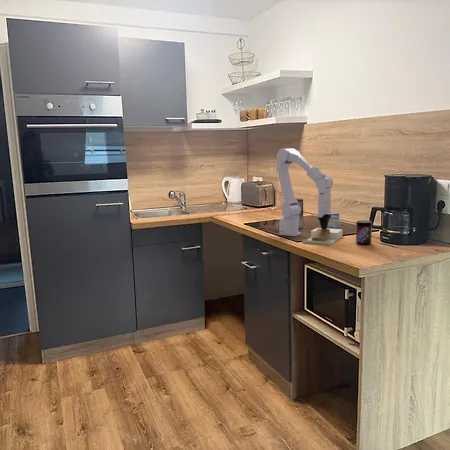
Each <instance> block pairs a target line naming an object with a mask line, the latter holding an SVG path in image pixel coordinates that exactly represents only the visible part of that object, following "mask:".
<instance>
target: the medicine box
mask: <svg viewBox="0 0 450 450" xmlns="http://www.w3.org/2000/svg"><path fill="white" fill-rule="evenodd" d="M328 215H331V217H330V219H329V222H328V226H327V228H328V229H340V213H339V212H333V213H329V214H328Z"/></svg>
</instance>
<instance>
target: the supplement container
mask: <svg viewBox="0 0 450 450" xmlns="http://www.w3.org/2000/svg"><path fill="white" fill-rule="evenodd" d="M355 223H356V224H355V225H356V226H355V228H356V229H355V243H356V245H359V246H370V245H371V244H372V235H373V234H372V230H373V228H372V226H373V222H372V221H371V220H368V219H367V220H366V219H365V220H364V219H362V220H356V222H355Z"/></svg>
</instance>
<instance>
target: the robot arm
mask: <svg viewBox="0 0 450 450" xmlns="http://www.w3.org/2000/svg"><path fill="white" fill-rule="evenodd" d="M293 163H296V164H297V165H299V166H300V167H301V168H302V169H303V170H304V171H306V175H307V176H308V177H309V179H311V180H312V181H313V182H314V183H315V186H316V188H317V192H318V196H317V197H318V198H317V199H318V206H317V209H318V210H317V219H318V221H319V224H320V228H321V229H327V226H328V222H329V219H330V217H331V215H328V214H329V213H334V211H332V210H331V204H332V202H331V198H332V197H331V193H332V187H333V185H334V181H333V178H332V177H331V176H328V175H327V174H326V173H323V172H322V171H321V170H320V168H319V166H315V165H313V166H312V165H311V164H310V163H309V161H307V160H306V159H305V158H304V157H303V155H302V154H301V153H300V152H299V150H297V149H296V148H280V149H279V150H278V152H277V153H276V166H275V167H276V170H277V171H276V172H277V175H278V181H279V185H280V190H281V193H282V198H283V201H282V203H281V215H282V217H280V219H279V223H278V224H279V228H278V229H279V230H278V231H279V232H278V235H279V236H290V237H297V236H299V235H301V234H302V232H299V229H300V228H299V218H298V217H299V214H300V213H301V207H300V205H299V204H298V201H297V200H296V199H297V198H295V194H294V190H293V185H292V181H291V176H290V172H289V167H290V165H291V164H293Z"/></svg>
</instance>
